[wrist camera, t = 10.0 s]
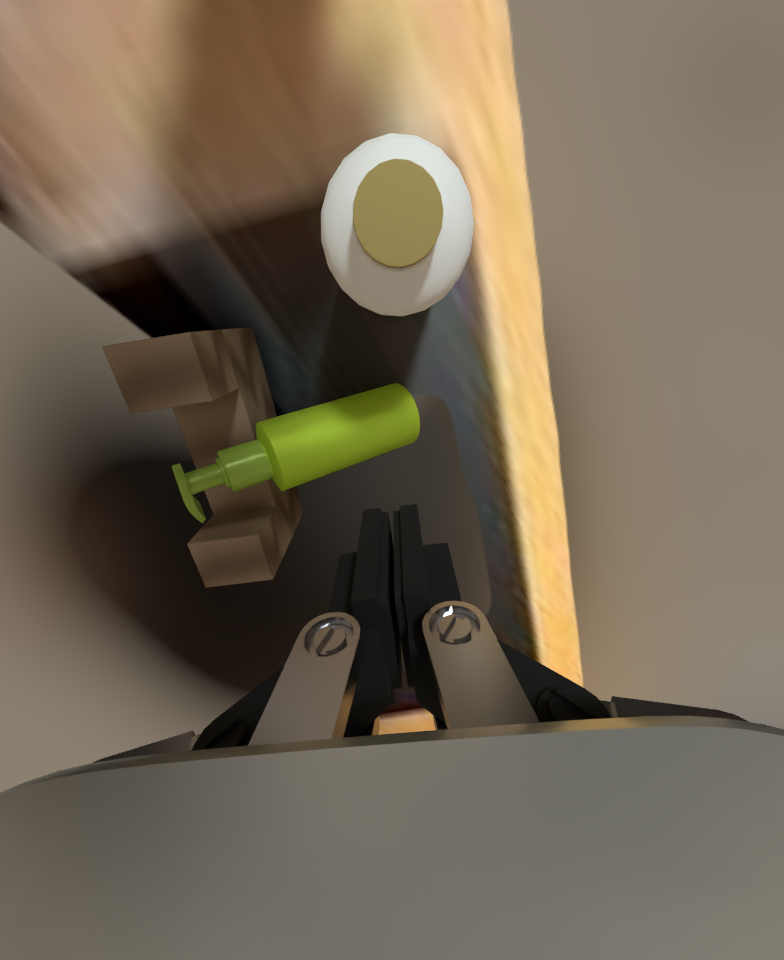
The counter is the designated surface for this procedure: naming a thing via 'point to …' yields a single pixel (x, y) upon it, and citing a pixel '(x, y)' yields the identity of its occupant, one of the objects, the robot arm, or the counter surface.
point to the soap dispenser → (309, 444)
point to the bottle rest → (215, 440)
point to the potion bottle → (397, 224)
